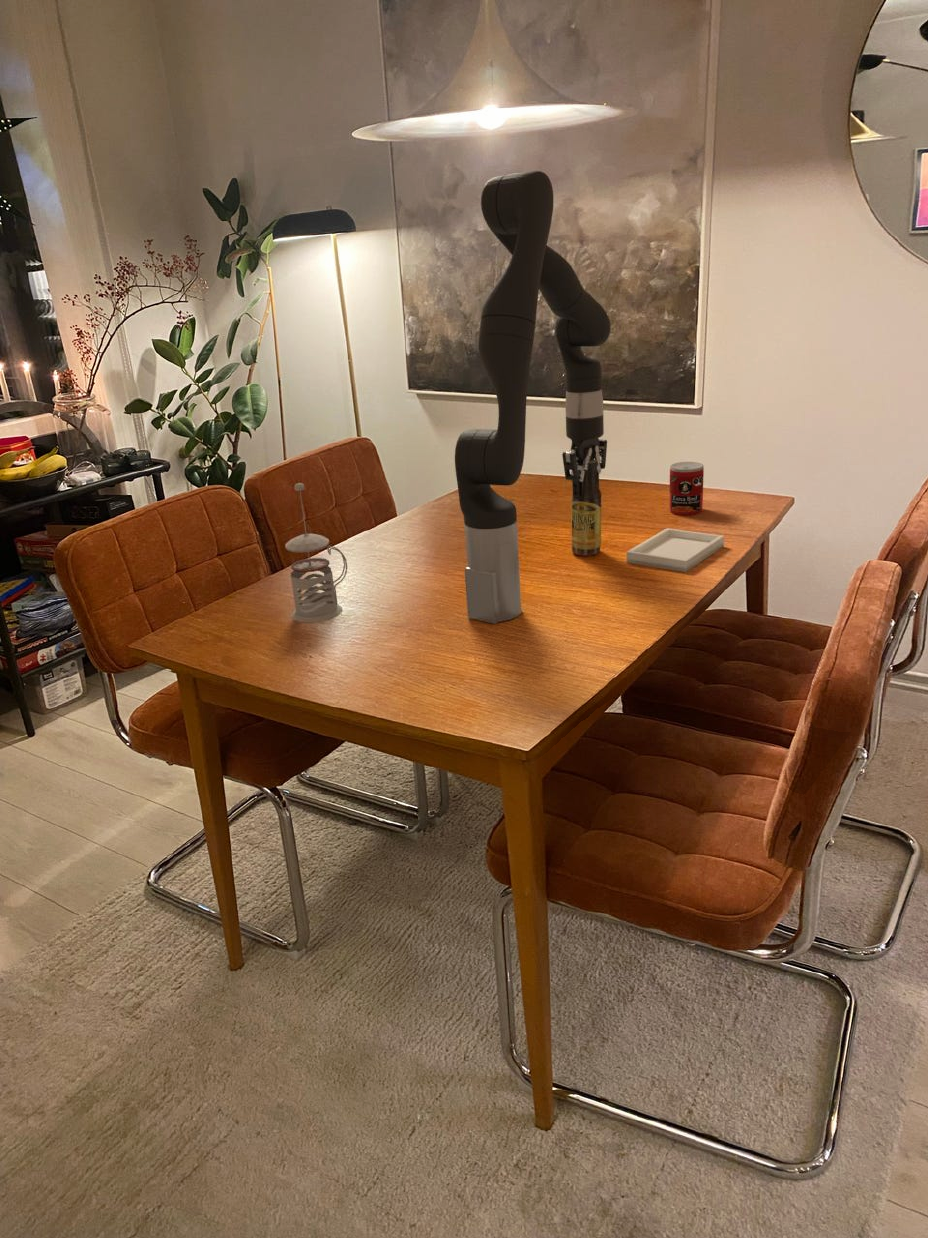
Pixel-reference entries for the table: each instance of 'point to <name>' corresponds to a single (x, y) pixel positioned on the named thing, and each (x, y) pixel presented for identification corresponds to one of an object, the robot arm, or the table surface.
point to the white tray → (675, 549)
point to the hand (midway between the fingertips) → (586, 494)
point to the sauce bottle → (587, 516)
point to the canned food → (686, 488)
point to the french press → (316, 603)
